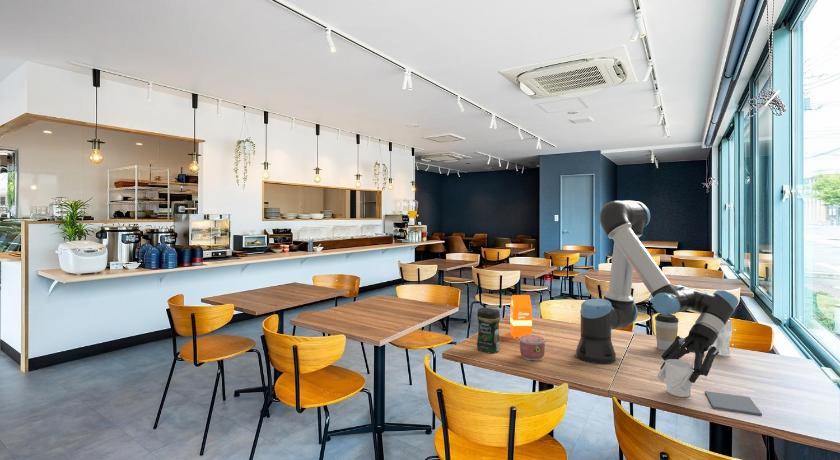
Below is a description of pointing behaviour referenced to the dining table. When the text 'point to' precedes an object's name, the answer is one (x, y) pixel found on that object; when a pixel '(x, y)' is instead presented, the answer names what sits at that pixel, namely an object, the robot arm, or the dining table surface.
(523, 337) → the container
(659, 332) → the coffee cup
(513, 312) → the orange juice
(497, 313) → the coffee jar
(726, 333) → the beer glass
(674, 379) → the white cup
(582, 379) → the dining table surface
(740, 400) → the rubber mat
